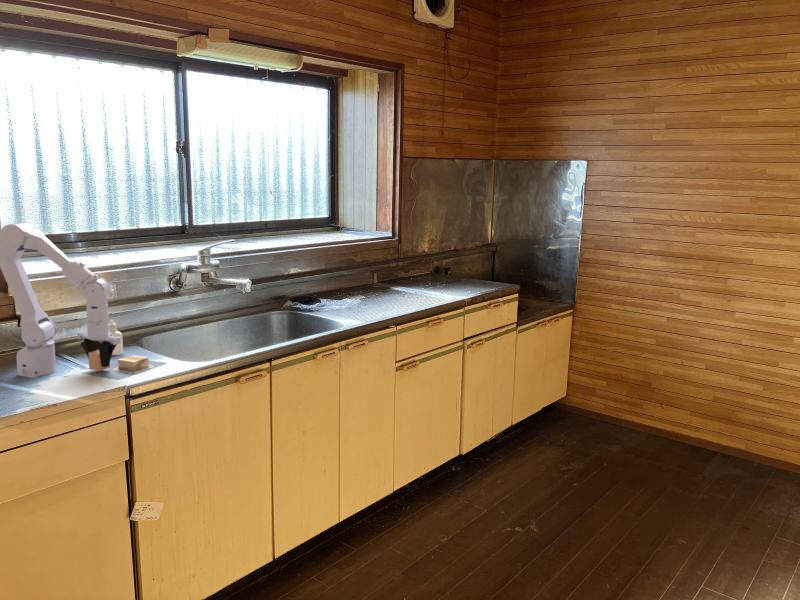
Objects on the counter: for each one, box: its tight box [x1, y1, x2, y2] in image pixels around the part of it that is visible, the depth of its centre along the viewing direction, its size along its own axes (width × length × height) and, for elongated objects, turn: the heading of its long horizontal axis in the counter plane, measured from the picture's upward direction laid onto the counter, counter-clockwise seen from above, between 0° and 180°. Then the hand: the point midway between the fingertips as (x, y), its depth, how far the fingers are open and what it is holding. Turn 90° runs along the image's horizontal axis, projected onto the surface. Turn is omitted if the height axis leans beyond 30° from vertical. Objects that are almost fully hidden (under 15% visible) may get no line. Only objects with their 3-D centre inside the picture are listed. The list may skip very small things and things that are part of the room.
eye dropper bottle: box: [109, 319, 124, 356], centre depth 208 cm, size 4×6×12 cm
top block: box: [88, 350, 111, 371], centre depth 188 cm, size 4×4×5 cm
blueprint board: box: [81, 359, 168, 381], centre depth 193 cm, size 20×14×1 cm
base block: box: [117, 354, 150, 372], centre depth 193 cm, size 6×6×3 cm
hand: (99, 365), depth 188 cm, fingers closed on top block, 4 cm apart
